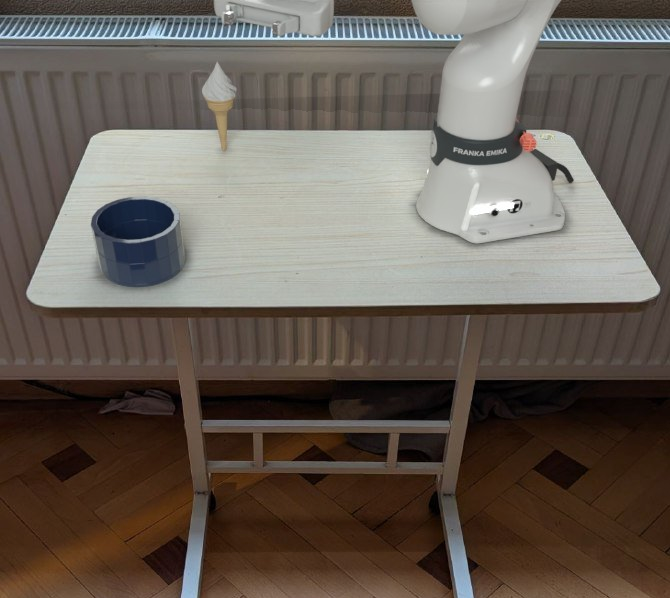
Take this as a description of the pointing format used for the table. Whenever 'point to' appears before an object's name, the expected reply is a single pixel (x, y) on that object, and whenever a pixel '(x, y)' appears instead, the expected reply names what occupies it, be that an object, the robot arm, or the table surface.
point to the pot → (138, 241)
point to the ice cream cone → (219, 99)
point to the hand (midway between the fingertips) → (250, 25)
